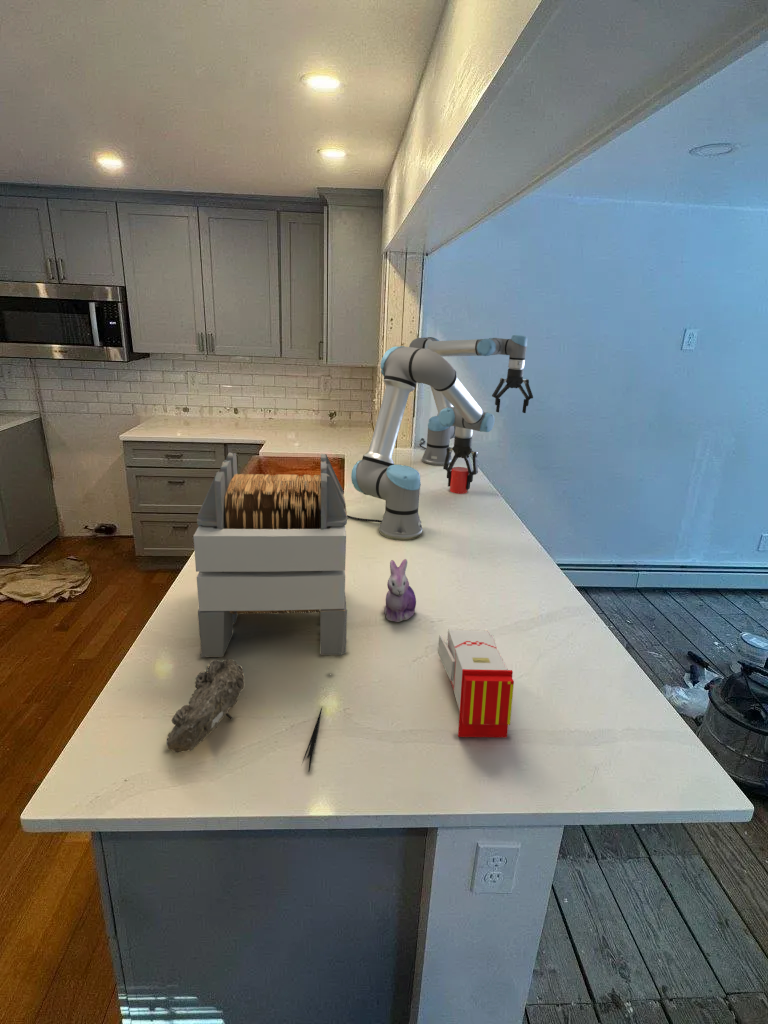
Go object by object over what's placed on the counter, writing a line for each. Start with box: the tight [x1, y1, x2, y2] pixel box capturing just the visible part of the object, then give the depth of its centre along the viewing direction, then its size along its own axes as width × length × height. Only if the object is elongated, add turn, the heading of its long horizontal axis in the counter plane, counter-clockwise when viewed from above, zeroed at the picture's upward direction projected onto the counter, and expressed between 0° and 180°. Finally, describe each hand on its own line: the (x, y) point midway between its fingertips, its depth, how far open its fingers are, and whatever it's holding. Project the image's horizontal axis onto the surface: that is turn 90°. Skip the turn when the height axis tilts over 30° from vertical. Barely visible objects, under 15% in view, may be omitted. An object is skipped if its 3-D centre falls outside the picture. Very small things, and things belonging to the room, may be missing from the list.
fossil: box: [166, 658, 245, 754], centre depth 106 cm, size 22×10×15 cm
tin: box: [449, 466, 469, 495], centre depth 249 cm, size 8×8×10 cm
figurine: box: [384, 558, 417, 623], centre depth 145 cm, size 9×10×15 cm
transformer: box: [193, 452, 348, 659], centre depth 136 cm, size 34×33×41 cm
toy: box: [437, 628, 515, 738], centre depth 117 cm, size 12×13×30 cm
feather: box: [301, 673, 332, 771], centre depth 108 cm, size 2×28×2 cm
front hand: (458, 487), depth 250 cm, fingers closed on tin, 8 cm apart
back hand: (510, 412), depth 282 cm, fingers open, 13 cm apart
